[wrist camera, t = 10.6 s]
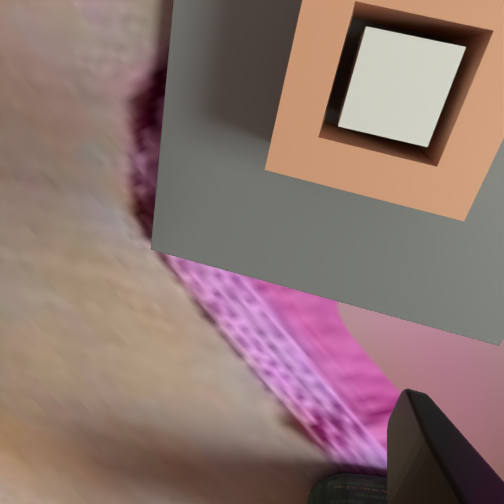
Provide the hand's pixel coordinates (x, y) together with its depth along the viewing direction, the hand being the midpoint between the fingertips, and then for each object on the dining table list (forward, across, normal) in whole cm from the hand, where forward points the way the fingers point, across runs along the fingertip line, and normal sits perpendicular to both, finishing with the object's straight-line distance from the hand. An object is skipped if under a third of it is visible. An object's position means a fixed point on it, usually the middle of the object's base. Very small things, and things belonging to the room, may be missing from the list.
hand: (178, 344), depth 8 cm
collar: (+10, -4, -6) cm, 12 cm away
